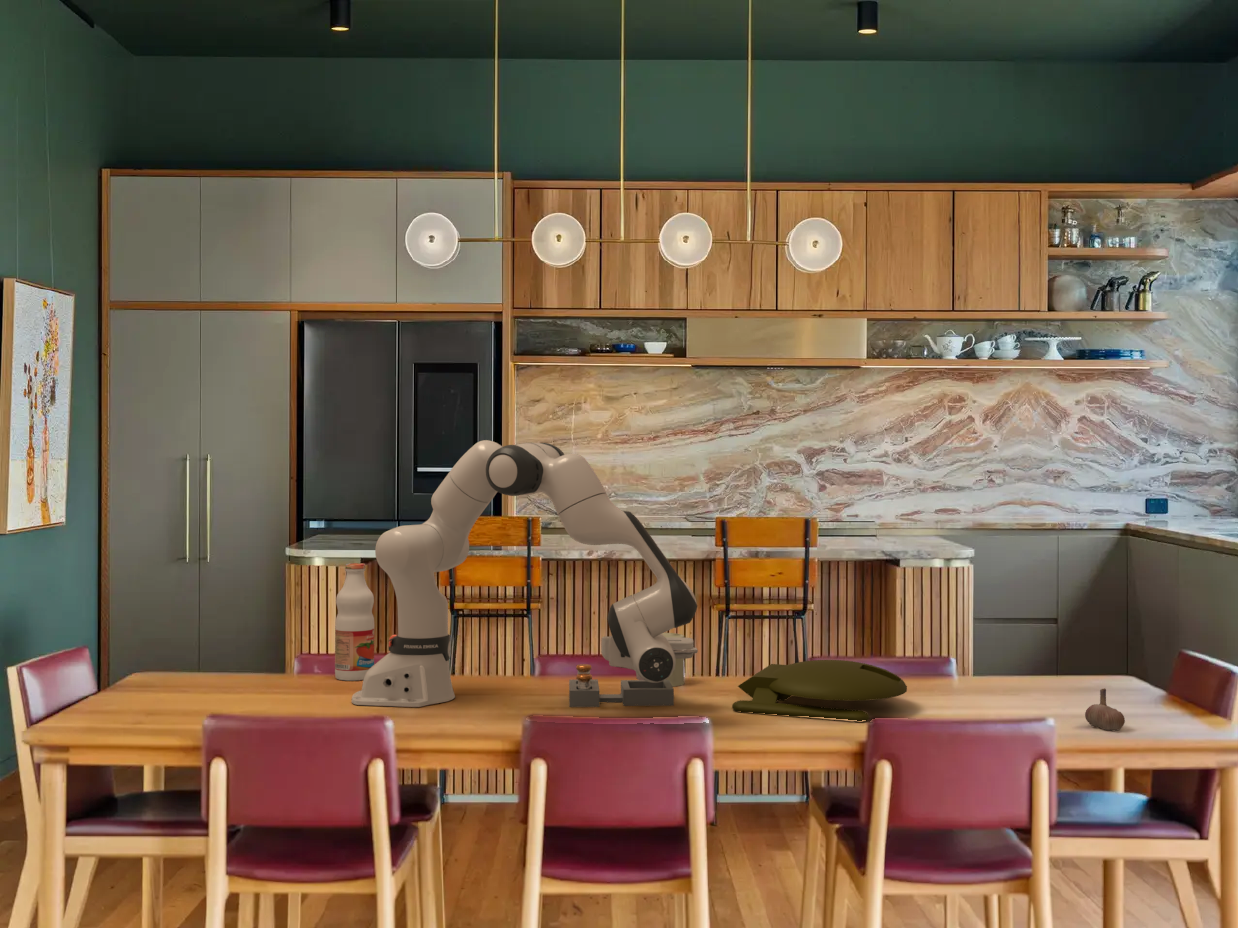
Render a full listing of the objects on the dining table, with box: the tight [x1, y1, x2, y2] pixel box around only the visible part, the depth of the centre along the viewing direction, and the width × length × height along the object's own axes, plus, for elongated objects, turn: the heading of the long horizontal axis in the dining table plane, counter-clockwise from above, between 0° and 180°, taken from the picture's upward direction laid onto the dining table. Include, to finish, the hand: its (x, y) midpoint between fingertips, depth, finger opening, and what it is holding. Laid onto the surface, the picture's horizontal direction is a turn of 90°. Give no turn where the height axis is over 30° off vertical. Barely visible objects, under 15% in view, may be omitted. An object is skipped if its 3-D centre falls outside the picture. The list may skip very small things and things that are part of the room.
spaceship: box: [731, 659, 908, 722], centre depth 242 cm, size 35×31×10 cm
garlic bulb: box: [1084, 688, 1126, 731], centre depth 220 cm, size 8×7×8 cm
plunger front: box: [576, 673, 593, 689], centre depth 241 cm, size 3×3×6 cm
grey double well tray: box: [568, 678, 675, 708], centre depth 245 cm, size 23×13×4 cm, turn 93°
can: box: [662, 632, 685, 688], centre depth 265 cm, size 9×9×12 cm
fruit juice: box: [334, 562, 375, 682], centre depth 271 cm, size 9×9×28 cm
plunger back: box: [575, 663, 592, 674], centre depth 247 cm, size 3×3×6 cm
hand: (645, 641), depth 246 cm, fingers closed on smoothie, 6 cm apart
